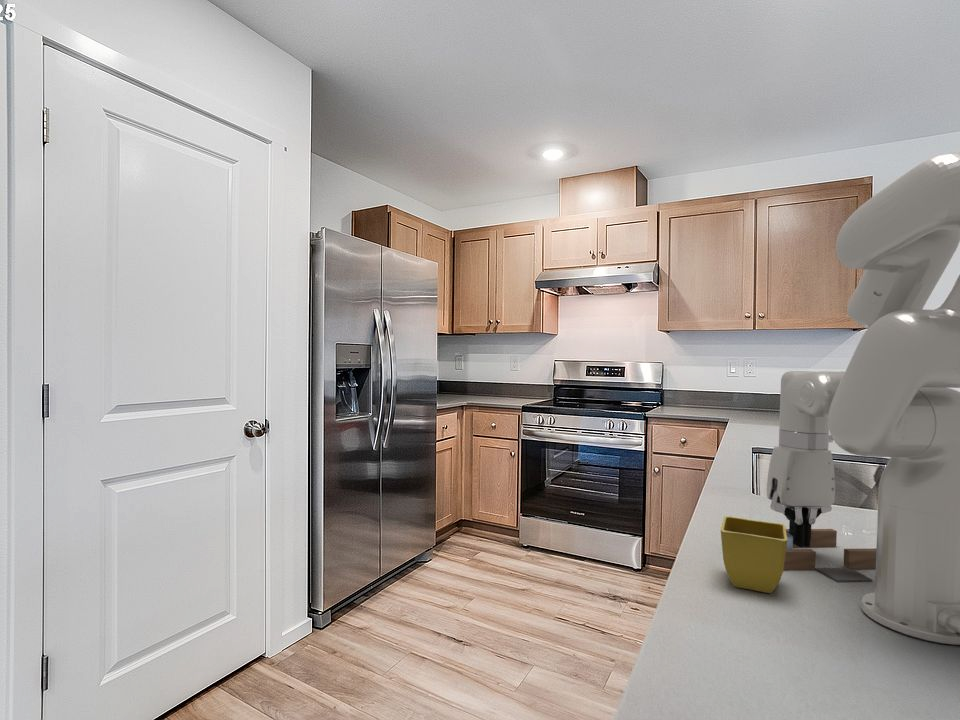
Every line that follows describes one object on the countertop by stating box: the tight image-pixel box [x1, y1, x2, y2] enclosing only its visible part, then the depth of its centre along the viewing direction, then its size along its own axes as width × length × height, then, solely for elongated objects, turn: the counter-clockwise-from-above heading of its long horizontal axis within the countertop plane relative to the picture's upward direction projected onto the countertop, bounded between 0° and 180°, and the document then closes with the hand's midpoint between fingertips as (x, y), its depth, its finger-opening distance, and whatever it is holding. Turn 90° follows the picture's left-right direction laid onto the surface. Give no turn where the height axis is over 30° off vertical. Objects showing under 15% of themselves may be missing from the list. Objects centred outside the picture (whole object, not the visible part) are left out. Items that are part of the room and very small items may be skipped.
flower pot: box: [720, 515, 787, 594], centre depth 83 cm, size 9×9×9 cm
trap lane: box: [783, 528, 876, 583], centre depth 95 cm, size 21×21×4 cm
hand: (799, 544), depth 95 cm, fingers closed
